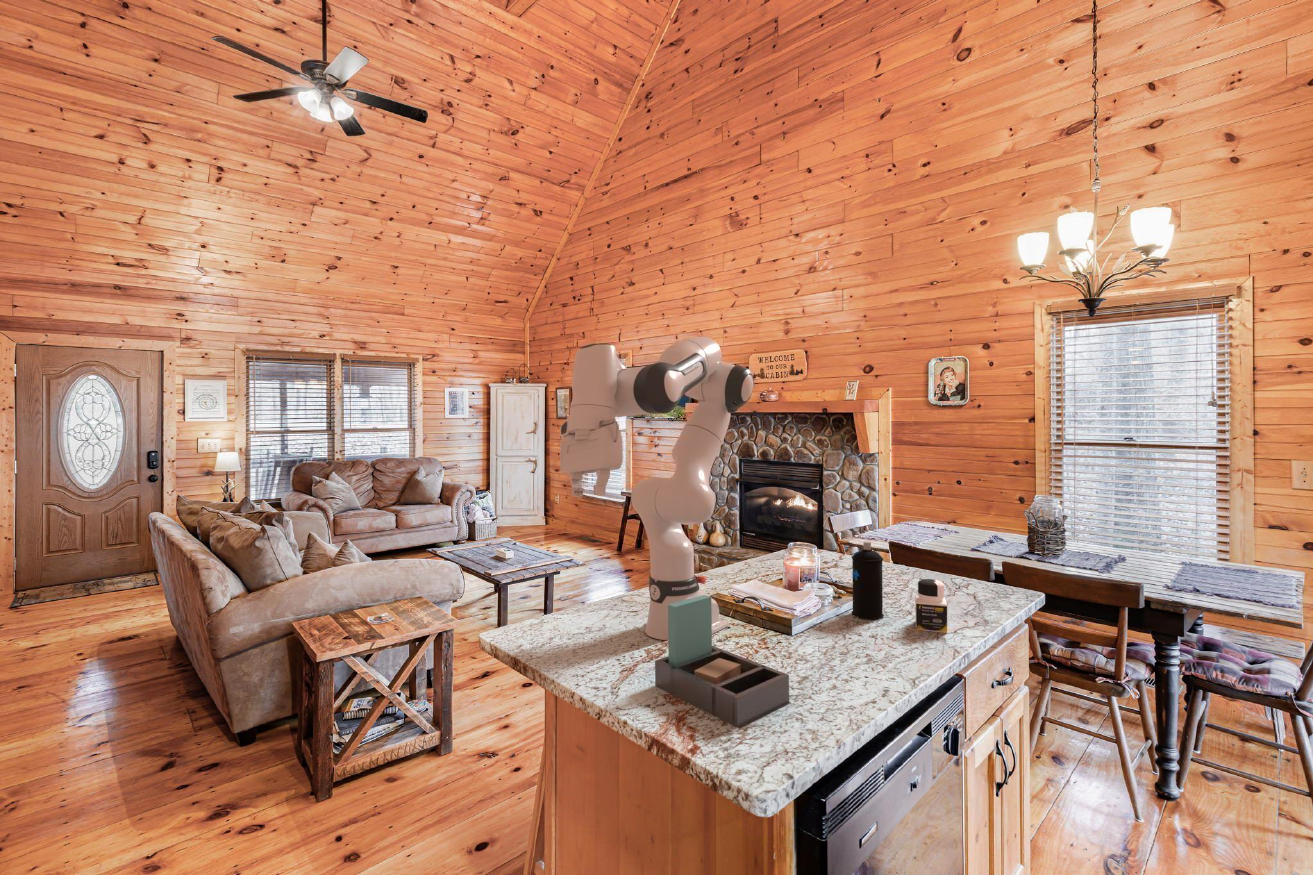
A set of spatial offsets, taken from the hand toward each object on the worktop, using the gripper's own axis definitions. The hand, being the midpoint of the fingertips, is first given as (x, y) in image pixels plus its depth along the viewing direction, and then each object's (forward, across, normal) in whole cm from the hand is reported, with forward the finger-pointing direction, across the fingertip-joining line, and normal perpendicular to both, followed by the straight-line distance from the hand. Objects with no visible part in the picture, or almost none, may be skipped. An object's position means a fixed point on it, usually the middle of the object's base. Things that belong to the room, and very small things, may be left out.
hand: (587, 496), depth 113 cm
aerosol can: (+26, +8, -90) cm, 94 cm away
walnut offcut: (+33, -9, -25) cm, 43 cm away
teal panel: (+35, -1, -25) cm, 43 cm away
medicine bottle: (+27, -7, -96) cm, 100 cm away
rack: (+38, -10, -26) cm, 47 cm away
